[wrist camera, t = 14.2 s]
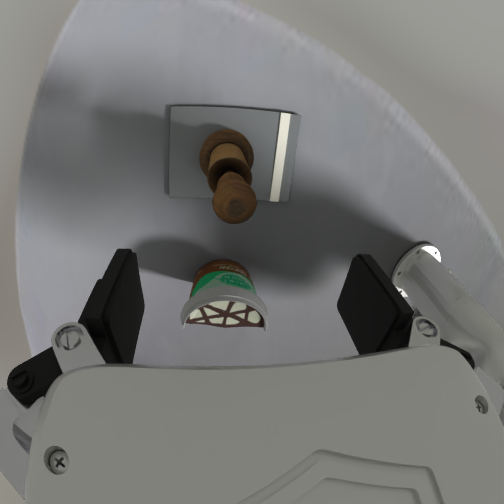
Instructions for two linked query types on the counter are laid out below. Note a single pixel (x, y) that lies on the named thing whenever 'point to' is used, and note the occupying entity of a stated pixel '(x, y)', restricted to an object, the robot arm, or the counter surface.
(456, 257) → the counter surface
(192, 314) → the food container
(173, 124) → the mat
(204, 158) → the brown wooden turned post
